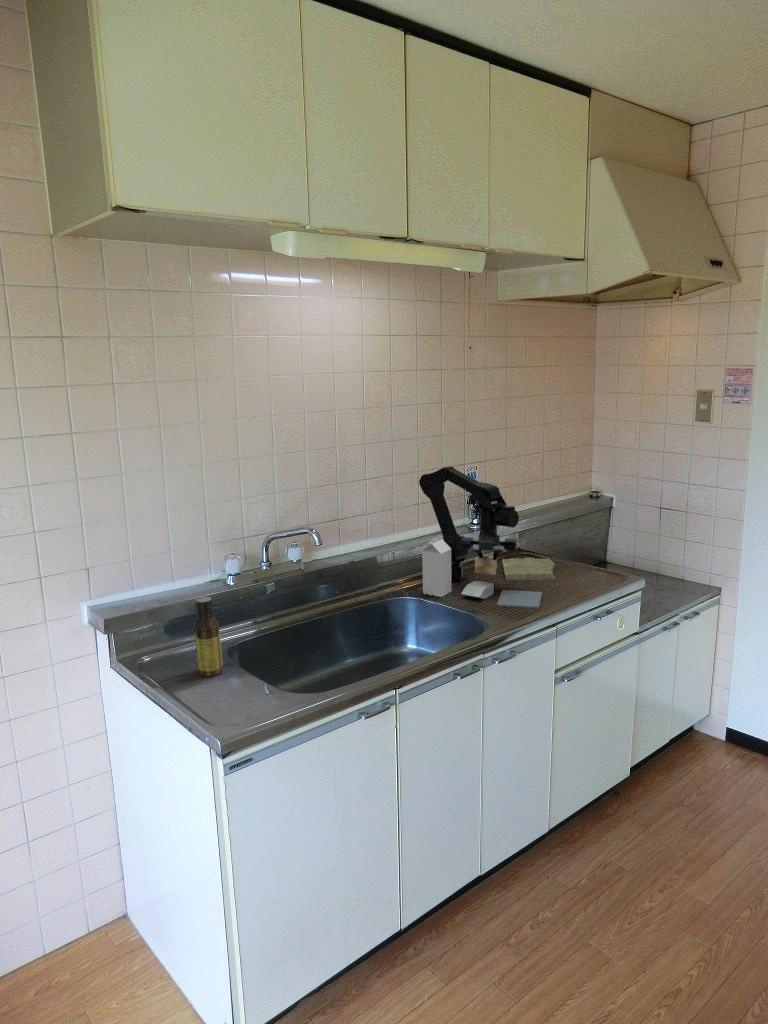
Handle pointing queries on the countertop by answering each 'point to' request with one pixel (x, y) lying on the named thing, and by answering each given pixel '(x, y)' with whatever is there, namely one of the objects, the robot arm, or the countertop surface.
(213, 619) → the sauce bottle
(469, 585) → the paper bag
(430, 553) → the milk carton
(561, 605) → the countertop surface
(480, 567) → the wooden t-shaped block
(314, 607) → the countertop surface
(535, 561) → the decorative tile
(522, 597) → the tool mat
